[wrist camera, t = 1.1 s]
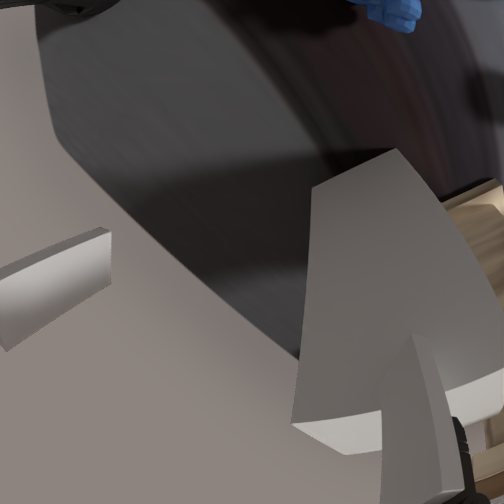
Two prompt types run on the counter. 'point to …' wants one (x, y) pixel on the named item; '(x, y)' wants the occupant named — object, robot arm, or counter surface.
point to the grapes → (393, 13)
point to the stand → (500, 278)
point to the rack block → (390, 305)
